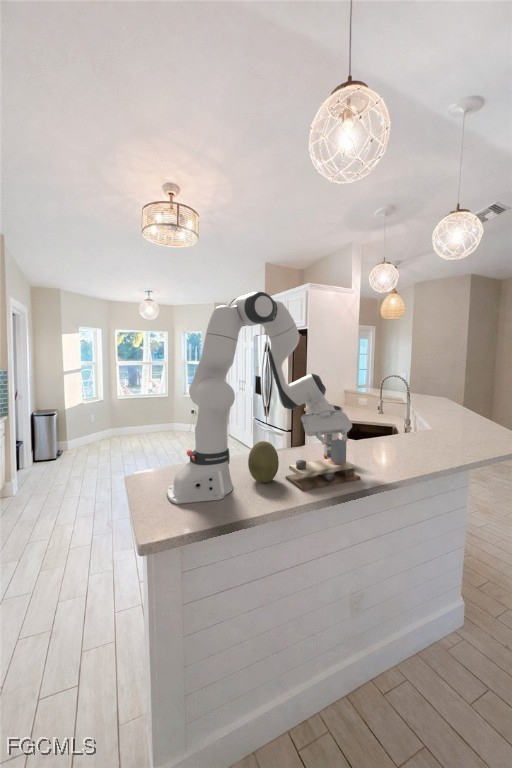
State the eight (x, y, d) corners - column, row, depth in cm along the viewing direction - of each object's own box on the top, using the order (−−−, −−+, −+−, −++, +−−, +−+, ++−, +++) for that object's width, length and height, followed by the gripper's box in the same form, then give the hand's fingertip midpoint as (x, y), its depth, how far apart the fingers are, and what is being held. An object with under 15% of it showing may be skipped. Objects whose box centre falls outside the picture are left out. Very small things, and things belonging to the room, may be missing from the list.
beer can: (322, 460, 140) (322, 424, 138) (326, 456, 145) (326, 421, 144) (336, 462, 137) (336, 426, 135) (340, 458, 142) (340, 423, 141)
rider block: (337, 463, 119) (337, 442, 118) (330, 460, 123) (331, 440, 122) (346, 462, 120) (346, 441, 120) (339, 459, 124) (339, 439, 123)
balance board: (301, 477, 110) (301, 466, 110) (289, 469, 119) (289, 459, 118) (353, 468, 119) (353, 457, 118) (338, 460, 127) (338, 451, 127)
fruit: (244, 478, 121) (243, 439, 120) (271, 473, 125) (271, 436, 124) (254, 489, 110) (254, 447, 109) (284, 484, 114) (283, 443, 113)
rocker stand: (301, 490, 109) (301, 479, 109) (285, 478, 120) (285, 468, 120) (360, 479, 118) (360, 468, 118) (340, 468, 129) (340, 459, 129)
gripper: (302, 410, 124) (315, 440, 116) (345, 406, 132) (360, 435, 124) (296, 419, 129) (309, 449, 120) (338, 415, 136) (353, 443, 128)
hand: (335, 442), depth 122 cm, fingers open, 8 cm apart
